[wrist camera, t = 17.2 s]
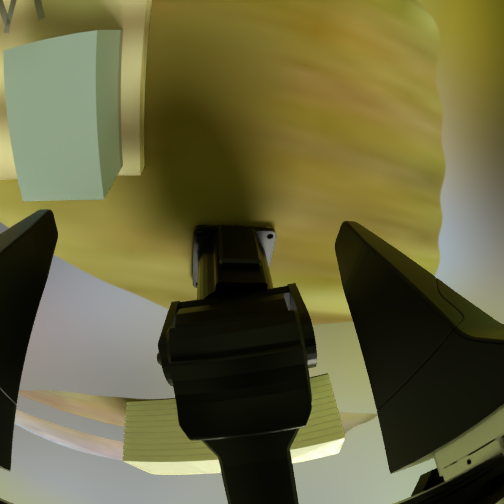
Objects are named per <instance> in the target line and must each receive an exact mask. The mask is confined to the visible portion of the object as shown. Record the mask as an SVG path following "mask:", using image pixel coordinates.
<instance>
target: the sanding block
mask: <svg viewBox="0 0 504 504" xmlns="http://www.w3.org/2000/svg"><path fill="white" fill-rule="evenodd" d="M122 40H123V30H95V31H88V32H81V33H75V34H69V35H64V36H59V37H54V38H49V39H45V40H40V41H36V42H32V43H28V44H24V45H21V46H17V47H14V48H10V49H7V50H4V84H5V98H6V109H7V118H8V126H9V133H10V140H11V146H12V152H13V158H14V163H15V168H16V173H17V178H18V182H19V187H20V191H21V195H22V199H23V201H48V200H104V199H105V197H106V195H107V193H108V191H109V189H110V188H111V186H112V184H113V182H114V180H115V179H116V177H117V175H118V173H119V172H120V170H121V168H122V166H123V158H122V137H121V60H122Z"/></svg>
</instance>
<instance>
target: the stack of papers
mask: <svg viewBox="0 0 504 504" xmlns="http://www.w3.org/2000/svg"><path fill="white" fill-rule="evenodd" d="M309 378H310V385H311V393H312V402H311V405H312V410H311V413H310V416H309V419H308V422H307V424H306V426H305V427H302V428H300V429H299V431H298V433H297V435H296V437H295V439H294V441H293V443H292V445H291V447H290V452H291V459H292V463H297V462H302V461H307V460H312V459H316V458H321V457H325V456H330V455H333V454H337V453H339V451H340V449H341V447H342V444H343V442H344V439H345V434H344V432H343V431H344V430H343V426H342V423H341V420H340V415H339V414H338V413H339V411H338V408H337V404H336V402H335V401H336V400H335V397H334V393H333V391H332V386H331V382H330V379H329V375H328V373H326V374H322V375H318V376H313V377H309ZM167 399H168V400H153V401H134V402H127V404H126V405H127V407H126V411H127V412H126V417H125V421H126V423H125V427H126V428H125V429H124V432H125V434H124V438H125V439H124V444H125V445H124V446H123V449H125V450H123V455H124V456H123V461H124V462H126V463H128V464H131V465H133V466H135V467H138V468H139V469H142V470H144V471H146V472H149V473H151V474H159V475H184V474H207V473H221V468H220V464H219V460H218V457H217V456H216V455H215V454H214V453H213V452H212V451H211V450H210V449H209V448H208V447H207V446H206V445H205V444H204V443H203V442H202V441H201V440H198V441H191V440H190V439H189V438H188V437H187V436H186V434H185V433H184V432H183V430H182V429H181V427H180V426H179V421H178V413H177V405H176V399H170V398H167Z"/></svg>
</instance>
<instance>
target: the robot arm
mask: <svg viewBox="0 0 504 504" xmlns="http://www.w3.org/2000/svg"><path fill="white" fill-rule="evenodd" d="M198 231H202V233H198ZM268 234H272V235H271V236H267V235H268ZM57 239H58V231H57V227H56V223H55V219H54V215H53V212H52V211H51V210H49V209H44V210H38V211H37V212H35V213H33V214H32V215H30V216H28V217H27V218H25V219H23V220H22V221H20V222H18V223H17V224H15V225H14V226H12V227H10V228H9V229H7V230H6V231H4V232H3V233H1V234H0V468H2V469H5V470H7V471H10V468H11V454H12V439H13V430H14V421H15V413H16V404H17V398H18V392H19V386H20V381H21V375H22V370H23V365H24V361H25V356H26V352H27V347H28V343H29V339H30V335H31V331H32V328H33V324H34V320H35V317H36V313H37V310H38V307H39V303H40V300H41V297H42V294H43V291H44V288H45V284H46V281H47V278H48V274H49V270H50V266H51V262H52V258H53V254H54V250H55V247H56V243H57ZM275 240H276V232H275V230H274V229H271V228H254V227H246V226H224V225H222V226H207V225H199V226H196V227H195V229H194V245H193V286H194V287H196V288H197V300H193V301H185V302H180V301H175V302H172V303H171V306H170V309H169V311H168V314H167V317H166V320H165V323H164V326H163V329H162V333H161V336H160V339H159V342H158V349H159V353H158V354H157V361H158V363H159V364H160V365H161V366H162V368H163V372H164V375H165V378H166V380H167V381H168V383H169V384H170V385H171V386H173V387H174V392H175V398H176V405H177V413H178V421H179V426H180V427H181V429H182V430H183V432H184V433H185V434H186V436H187V437H188V438H189V439H190V440H191V441H198V440H201V441H202V442H203V443H204V444H205V445H206V446H207V447H208V448H209V449H210V450H211V451H212V452H213V453H214V454H215V455H216V456H217V457H218V460H219V464H220V468H221V473H222V478H223V482H224V487H225V491H226V496H227V500H228V504H298V497H297V491H296V485H295V478H294V472H293V465H292V459H291V452H290V447H291V445H292V443H293V441H294V439H295V437H296V435H297V433H298V431H299V429H300V428H302V427H305V426H306V424H307V422H308V419H309V416H310V413H311V410H312V405H311V402H312V393H311V385H310V378H309V371H308V368H312V367H316V364H317V351H316V342H315V336H314V331H313V327H312V322H311V319H310V316H309V313H308V311H307V308H306V306H305V304H304V302H303V299H302V297H301V295H300V293H299V290H298V288H297V286H296V284H295V283H293V284H288V285H287V286H284V287H278V288H273V284H272V280H271V275H270V271H269V267H270V262H271V258H272V253H273V249H274V244H275ZM335 251H336V256H337V261H338V265H339V270H340V275H341V280H342V285H343V289H344V293H345V296H346V299H347V303H348V306H349V309H350V312H351V316H352V319H353V322H354V325H355V329H356V333H357V336H358V340H359V343H360V347H361V350H362V354H363V357H364V361H365V365H366V369H367V372H368V376H369V380H370V384H371V388H372V392H373V396H374V400H375V405H376V408H377V414H378V418H379V422H380V427H381V431H382V436H383V441H384V445H385V450H386V455H387V460H388V465H389V470H390V473H395V472H398V471H400V470H403V469H406V468H409V467H412V466H414V465H417V464H419V463H422V462H424V461H427V460H429V459H432V458H434V459H435V463H436V466H437V468H436V469H434V470H431V471H430V472H427V473H425V474H423V475H421V476H420V478H419V481H418V483H417V485H416V487H415V489H414V491H413V493H412V495H411V497H409V498H407V499H404V500H402V501H399V502H397V503H394V504H504V324H501V323H499V322H498V321H496V320H494V319H493V318H492V317H490V316H489V315H488V314H486V313H485V312H483V311H482V310H481V309H479V308H478V307H476V306H475V305H473V304H472V303H471V302H469V301H468V300H466V299H465V298H463V297H462V296H461V295H459V294H458V293H456V292H455V291H454V290H452V289H451V288H450V287H448V286H447V285H446V284H444V283H443V282H442V281H440V280H439V279H437V278H436V277H435V276H433V275H432V274H431V273H429V272H428V271H427V270H425V269H424V268H423V267H421V266H420V265H418V264H417V263H416V262H414V261H413V260H411V259H410V258H409V257H407V256H406V255H404V254H403V253H401V252H400V251H399V250H397V249H396V248H394V247H393V246H391V245H390V244H388V243H387V242H385V241H384V240H383V239H381V238H380V237H378V236H377V235H375V234H374V233H372V232H371V231H369V230H368V229H366V228H365V227H363V226H362V225H360V224H358V223H357V222H353V221H344V222H343V223H342V225H341V227H340V230H339V233H338V236H337V239H336V242H335ZM0 504H13V503H10V502H8V501H5V500H3V499H1V498H0Z"/></svg>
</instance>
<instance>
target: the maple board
mask: <svg viewBox="0 0 504 504" xmlns="http://www.w3.org/2000/svg"><path fill="white" fill-rule="evenodd" d="M151 7H152V0H0V180H7V179H18V178H17V173H16V168H15V163H14V158H13V152H12V146H11V140H10V133H9V126H8V118H7V109H6V98H5V84H4V50H7V49H10V48H14V47H17V46H21V45H24V44H28V43H32V42H36V41H40V40H45V39H49V38H54V37H59V36H64V35H69V34H75V33H81V32H88V31H95V30H123V40H122V60H121V137H122V158H123V166H122V168H121V170H120V172H119V173H118V175H141V173H142V171H143V169H144V166H145V165H144V108H145V80H146V62H147V48H148V36H149V26H150V16H151Z"/></svg>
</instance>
